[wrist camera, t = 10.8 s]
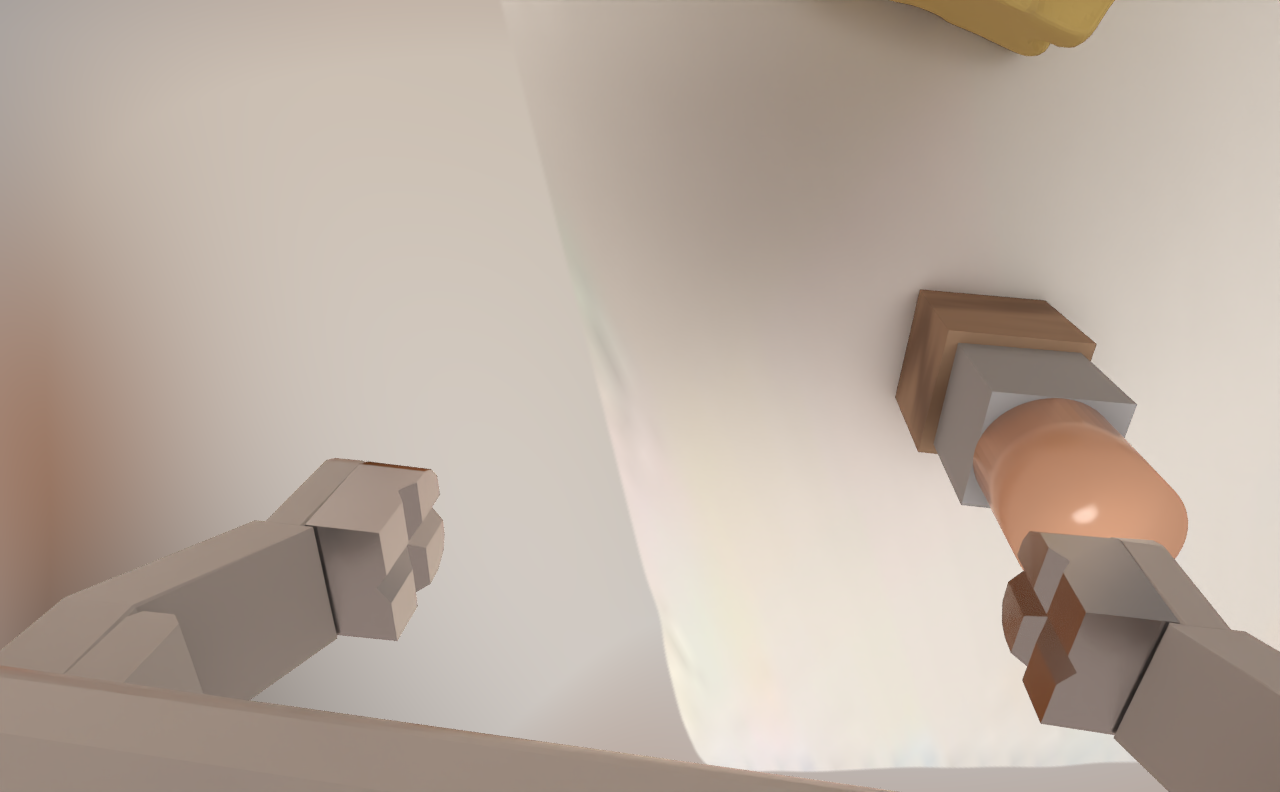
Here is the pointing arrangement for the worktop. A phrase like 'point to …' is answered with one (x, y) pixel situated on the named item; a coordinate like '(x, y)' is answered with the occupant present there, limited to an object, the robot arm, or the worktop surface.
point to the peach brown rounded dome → (1073, 478)
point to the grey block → (1013, 400)
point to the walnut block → (970, 322)
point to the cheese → (1022, 20)
